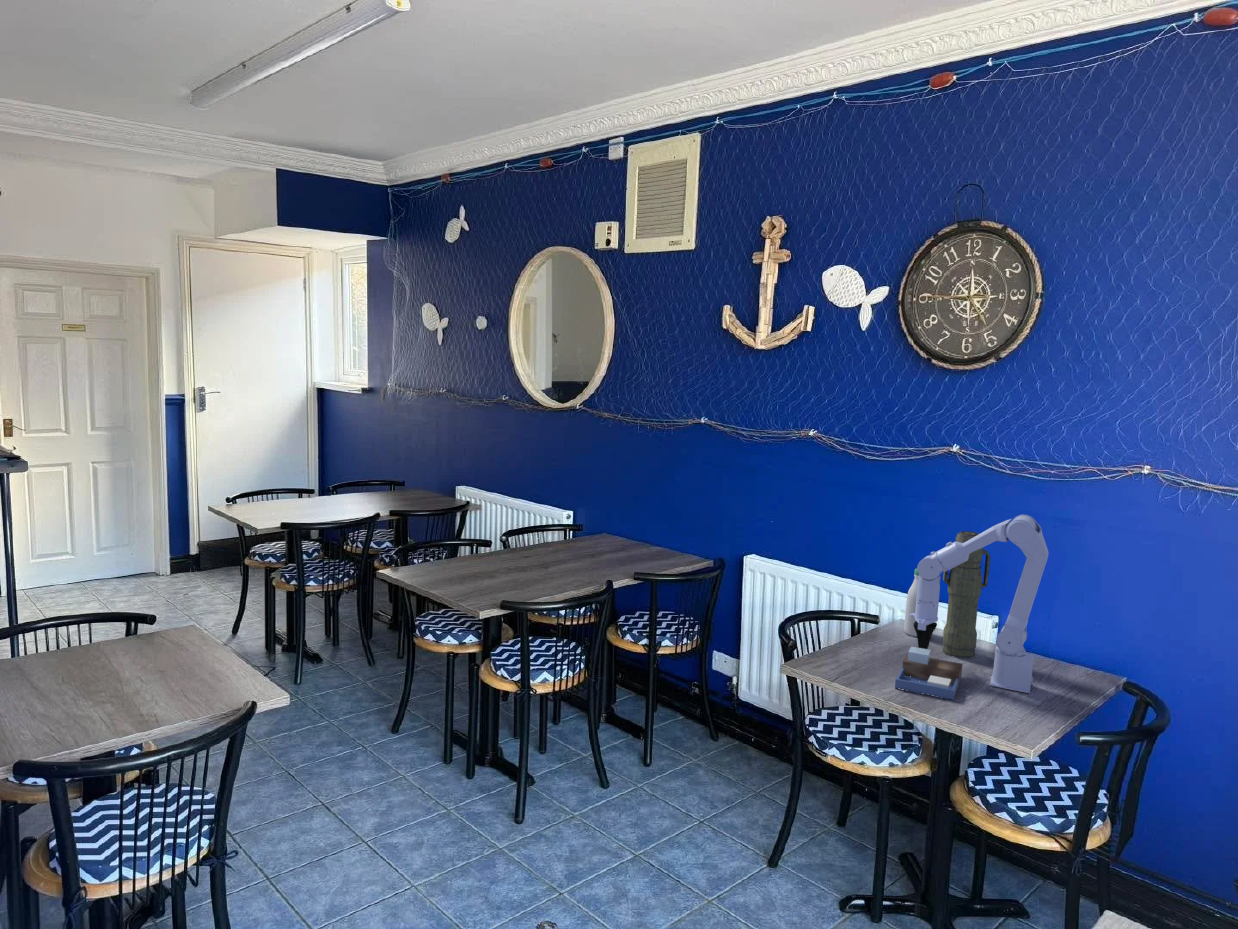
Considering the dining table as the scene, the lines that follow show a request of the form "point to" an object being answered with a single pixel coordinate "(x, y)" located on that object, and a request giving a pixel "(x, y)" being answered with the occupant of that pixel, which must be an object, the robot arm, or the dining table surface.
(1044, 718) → the dining table surface
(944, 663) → the brown rectangular block
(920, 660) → the blue tile
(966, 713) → the dining table surface
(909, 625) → the milk bottle
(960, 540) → the thermos
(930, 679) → the cream tile
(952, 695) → the tray
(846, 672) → the dining table surface
